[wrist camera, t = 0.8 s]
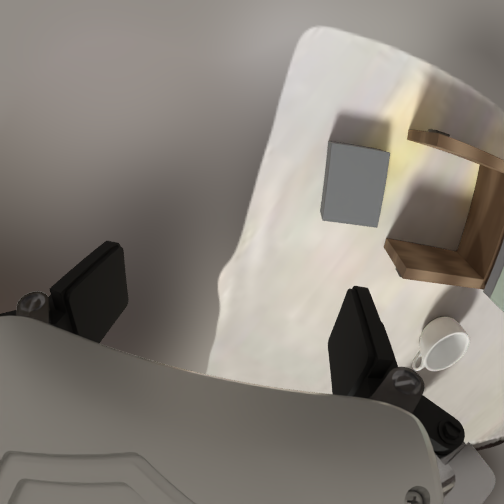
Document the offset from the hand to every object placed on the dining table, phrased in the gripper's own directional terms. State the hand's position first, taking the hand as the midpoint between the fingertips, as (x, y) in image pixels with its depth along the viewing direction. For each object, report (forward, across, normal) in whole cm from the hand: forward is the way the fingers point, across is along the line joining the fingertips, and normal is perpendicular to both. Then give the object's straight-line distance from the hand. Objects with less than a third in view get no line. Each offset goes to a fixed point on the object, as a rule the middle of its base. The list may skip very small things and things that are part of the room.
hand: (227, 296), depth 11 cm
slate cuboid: (+22, -9, -2) cm, 24 cm away
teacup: (+22, -29, +17) cm, 40 cm away
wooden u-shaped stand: (+22, -21, -2) cm, 30 cm away
